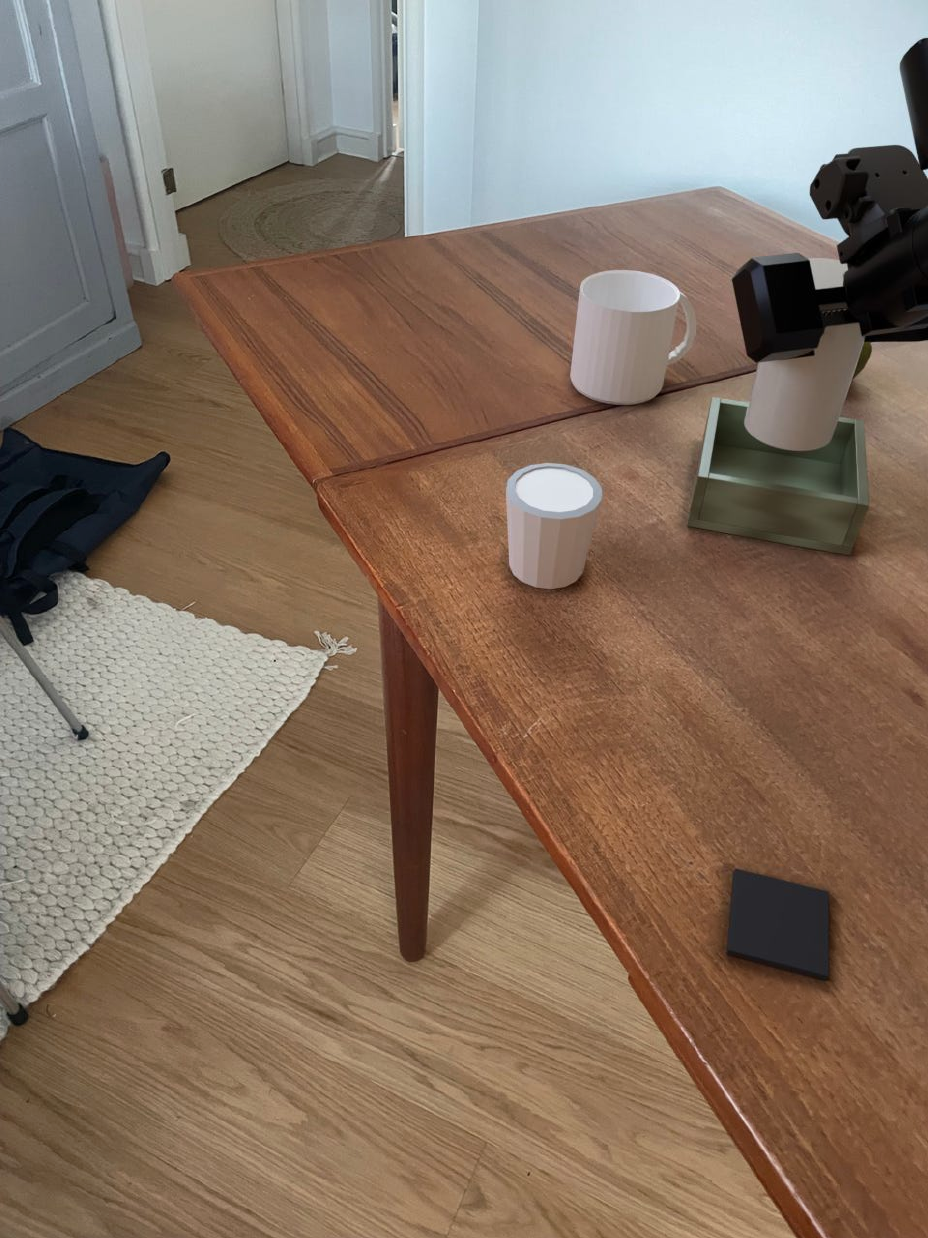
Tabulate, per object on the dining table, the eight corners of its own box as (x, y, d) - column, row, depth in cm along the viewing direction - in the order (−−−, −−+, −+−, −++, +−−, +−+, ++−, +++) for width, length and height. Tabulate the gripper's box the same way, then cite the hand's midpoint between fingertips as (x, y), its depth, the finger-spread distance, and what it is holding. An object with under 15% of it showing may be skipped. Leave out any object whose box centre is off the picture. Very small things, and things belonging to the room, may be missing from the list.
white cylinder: (832, 412, 75) (880, 264, 67) (833, 457, 70) (885, 302, 62) (745, 400, 76) (782, 252, 68) (741, 443, 71) (780, 289, 63)
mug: (579, 407, 88) (591, 313, 81) (562, 361, 94) (571, 270, 88) (703, 403, 89) (724, 309, 82) (677, 358, 95) (695, 268, 89)
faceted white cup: (562, 527, 74) (571, 452, 69) (609, 579, 70) (622, 502, 65) (485, 550, 72) (488, 474, 67) (528, 605, 67) (535, 527, 63)
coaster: (826, 896, 51) (828, 891, 50) (826, 981, 47) (829, 976, 47) (732, 872, 52) (734, 867, 51) (726, 954, 48) (728, 950, 48)
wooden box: (847, 468, 81) (864, 420, 78) (849, 556, 72) (869, 505, 69) (701, 444, 84) (711, 396, 80) (686, 526, 75) (697, 475, 71)
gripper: (1056, 102, 56) (886, 224, 72) (785, 121, 52) (665, 246, 67) (1093, 282, 56) (915, 365, 72) (824, 315, 52) (695, 397, 67)
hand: (800, 340), depth 69 cm, fingers closed on white cylinder, 7 cm apart
